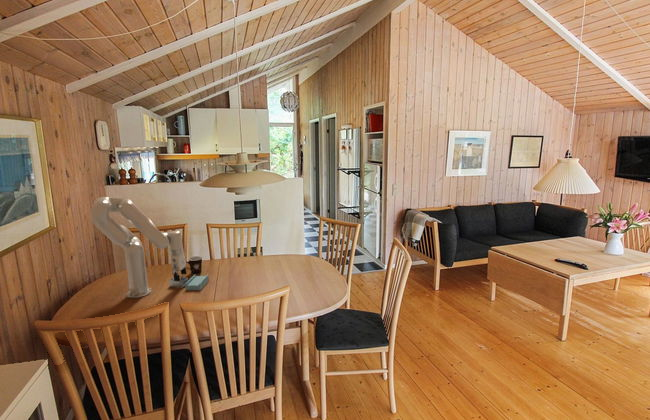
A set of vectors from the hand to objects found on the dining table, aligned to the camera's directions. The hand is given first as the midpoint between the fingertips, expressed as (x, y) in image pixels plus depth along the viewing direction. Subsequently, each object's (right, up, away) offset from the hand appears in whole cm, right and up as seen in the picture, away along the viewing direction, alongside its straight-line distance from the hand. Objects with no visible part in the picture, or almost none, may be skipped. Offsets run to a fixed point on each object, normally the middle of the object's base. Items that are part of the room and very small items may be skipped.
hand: (180, 277), depth 221 cm
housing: (-1, -5, 0) cm, 5 cm away
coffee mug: (+1, -1, +20) cm, 20 cm away
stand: (+11, -5, 0) cm, 12 cm away
